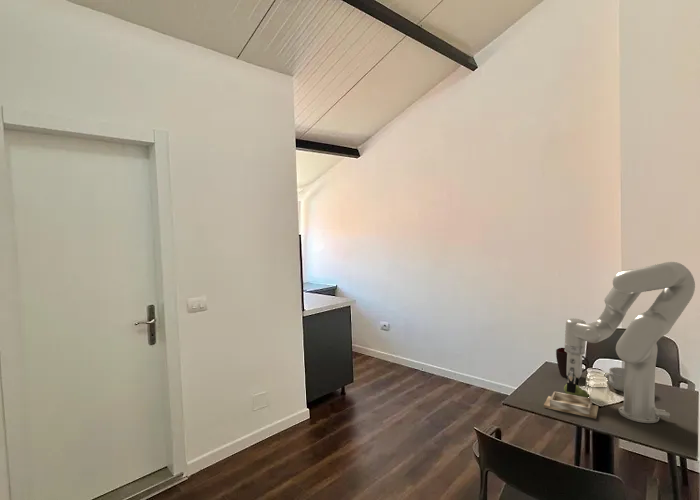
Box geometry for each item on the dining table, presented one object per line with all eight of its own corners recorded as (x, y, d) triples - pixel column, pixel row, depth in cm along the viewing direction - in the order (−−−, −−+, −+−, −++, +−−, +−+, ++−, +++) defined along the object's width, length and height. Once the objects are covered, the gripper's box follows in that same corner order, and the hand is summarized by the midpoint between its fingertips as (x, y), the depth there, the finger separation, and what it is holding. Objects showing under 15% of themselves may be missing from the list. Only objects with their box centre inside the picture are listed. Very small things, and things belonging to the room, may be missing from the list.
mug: (559, 370, 206) (559, 346, 205) (591, 376, 197) (591, 352, 196) (553, 376, 199) (553, 351, 198) (586, 383, 189) (586, 357, 189)
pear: (569, 379, 179) (593, 390, 171) (567, 390, 180) (590, 402, 172) (562, 382, 176) (586, 393, 168) (560, 393, 177) (583, 405, 169)
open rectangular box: (598, 408, 163) (598, 399, 163) (596, 418, 155) (596, 409, 155) (548, 398, 174) (548, 390, 174) (543, 407, 165) (543, 398, 165)
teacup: (629, 384, 186) (629, 367, 186) (643, 394, 175) (644, 376, 175) (596, 384, 188) (596, 366, 187) (609, 393, 177) (609, 375, 176)
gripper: (582, 356, 165) (580, 397, 166) (587, 344, 179) (584, 383, 180) (561, 352, 169) (559, 393, 171) (567, 341, 183) (565, 379, 185)
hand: (572, 388), depth 175 cm, fingers open, 9 cm apart
